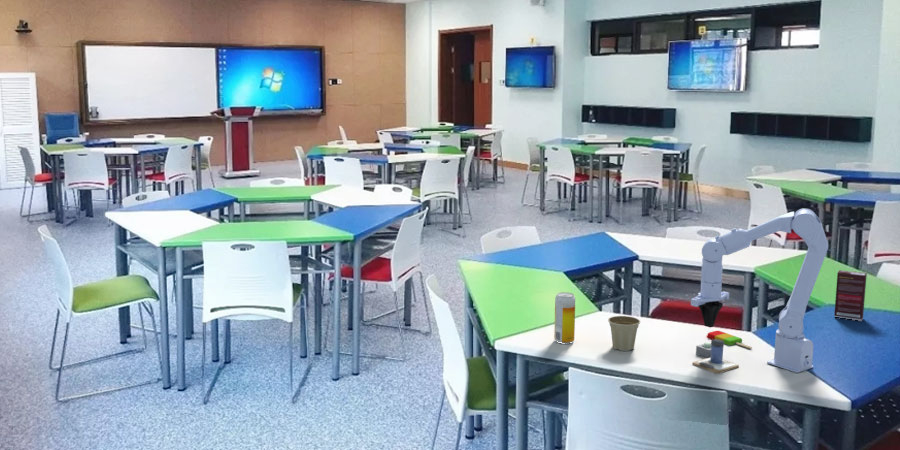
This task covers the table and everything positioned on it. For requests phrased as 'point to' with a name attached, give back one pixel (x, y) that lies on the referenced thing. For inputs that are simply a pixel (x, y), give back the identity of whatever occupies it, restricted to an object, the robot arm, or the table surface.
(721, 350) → the blue small bottle
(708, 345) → the button
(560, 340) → the beer can
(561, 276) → the table surface
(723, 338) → the popsicle
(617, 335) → the flower pot
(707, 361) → the clipboard
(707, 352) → the button housing
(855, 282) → the supplement box
